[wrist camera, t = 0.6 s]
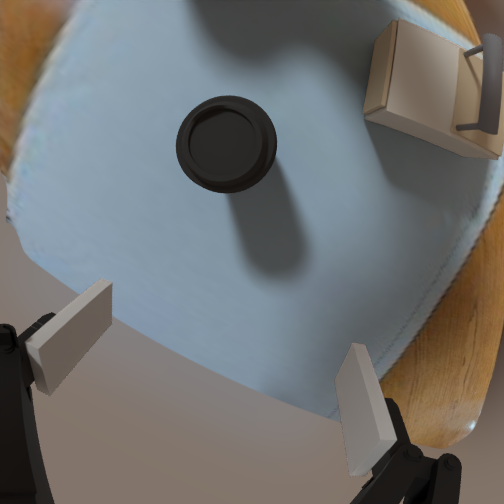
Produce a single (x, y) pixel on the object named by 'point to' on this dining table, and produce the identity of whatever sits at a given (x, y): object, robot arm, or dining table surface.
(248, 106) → the coffee cup
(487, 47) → the drawer with bar handle
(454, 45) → the carton
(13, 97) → the dining table surface
